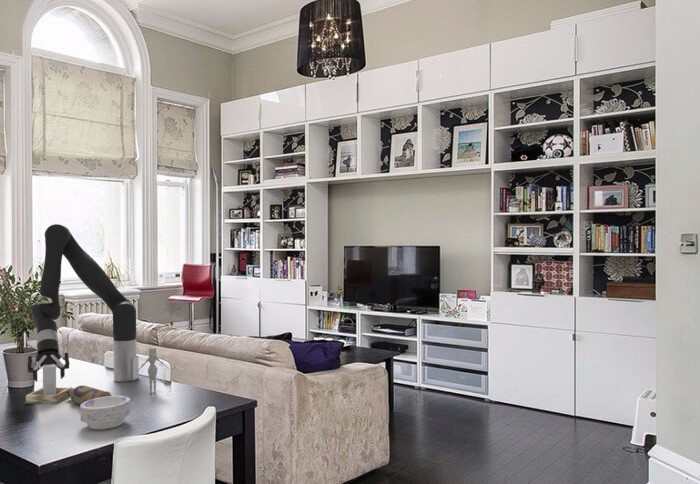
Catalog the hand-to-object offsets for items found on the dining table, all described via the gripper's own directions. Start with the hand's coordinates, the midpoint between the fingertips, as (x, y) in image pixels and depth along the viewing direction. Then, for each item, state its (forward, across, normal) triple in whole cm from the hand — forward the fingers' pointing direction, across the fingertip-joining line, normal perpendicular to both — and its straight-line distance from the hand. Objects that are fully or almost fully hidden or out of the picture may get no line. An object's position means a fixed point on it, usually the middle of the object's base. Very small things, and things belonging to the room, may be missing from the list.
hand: (49, 378), depth 222 cm
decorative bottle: (+15, +12, -4) cm, 20 cm away
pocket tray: (+5, 0, +7) cm, 8 cm away
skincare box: (+4, 0, +6) cm, 7 cm away
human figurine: (+14, +36, -2) cm, 38 cm away
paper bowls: (+36, +15, -25) cm, 46 cm away
